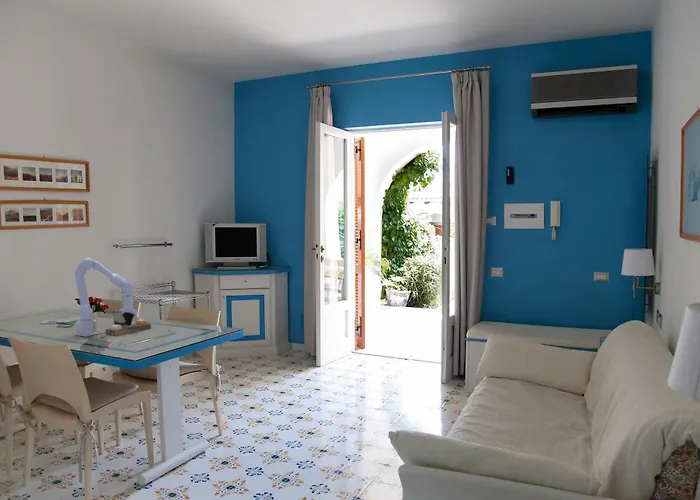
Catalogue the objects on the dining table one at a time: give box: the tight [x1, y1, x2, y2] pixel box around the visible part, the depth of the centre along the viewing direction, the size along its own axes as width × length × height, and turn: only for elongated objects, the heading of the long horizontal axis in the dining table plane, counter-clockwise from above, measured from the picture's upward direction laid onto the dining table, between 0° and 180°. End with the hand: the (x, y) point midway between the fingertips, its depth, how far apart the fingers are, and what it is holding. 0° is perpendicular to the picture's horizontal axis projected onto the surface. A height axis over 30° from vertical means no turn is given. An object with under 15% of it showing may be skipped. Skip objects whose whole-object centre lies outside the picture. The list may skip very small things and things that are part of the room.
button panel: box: [105, 322, 152, 337], centre depth 334 cm, size 9×24×3 cm, turn 148°
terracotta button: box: [135, 319, 147, 325], centre depth 341 cm, size 4×4×3 cm
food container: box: [111, 308, 126, 326], centre depth 352 cm, size 12×6×10 cm, turn 84°
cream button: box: [110, 325, 121, 330], centre depth 327 cm, size 4×4×3 cm
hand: (128, 325), depth 334 cm, fingers closed, pressing on sage button
